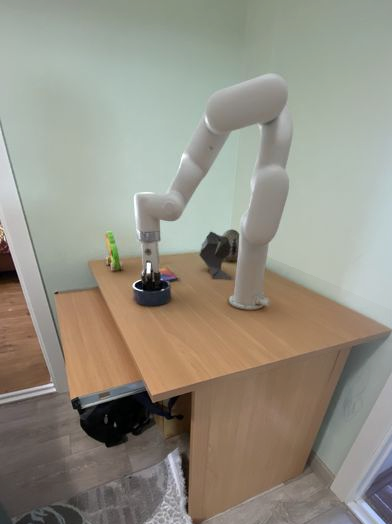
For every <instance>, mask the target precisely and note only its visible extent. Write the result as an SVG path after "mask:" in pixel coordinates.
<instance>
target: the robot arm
mask: <svg viewBox="0 0 392 524" xmlns="http://www.w3.org/2000/svg"><path fill="white" fill-rule="evenodd" d="M288 96H289V89H288V85H287V82H286V81H285V79H284V78H283V77H282V76H281V75H280V74H277V73H274V72H273V73H272V72H269V73H264V74H262V75H259V76H256V77H253V78H250V79H248V80H244V81H242V82H238V83H236V84H233V85H230V86H227V87H224V88H221V89H217V90H216V91H215V92H214V93H212V94H211V95H210V97H209V98H208V99H207V100H206V101H207V102H206V104H205V109H204V112H203V114H202V115H201V117H200V119H199V122H198V124H197V125H196V128H195V129H194V131H193V133H192V135H191V137H190V139H189V141H188V143H187V144H186V146H185V148H184V150H183V152H182V155H181V157H180V158H181V159H180V162H179V167H178V168H177V171H176V173H175V175H174V177H173V179H172V181H171V183H170V185H169V187H168V189H167V191H166V192H165V193H164V194H157V193H155V192H149V191H145V192H144V191H142V192H136V193H135V194H134V196H133V203H134V204H133V205H134V216H135V217H134V218H135V228H136V241H137V242H138V243H140V248H141V260H142V261H141V263H142V271H143V272H144V273H146V291H156V287H155V281H154V273H158V272H159V268H161V267H160V265H161V264H160V249H159V242H161V241H162V240H161V239H162V237H161V221H165V222H175V221H177V220H179V219H180V218H181V216H182V215H183V213H184V211H185V209H186V207H187V206H188V204H189V202H190V201H191V199H192V197H193V195H194V193H195V192H196V191H197V189H198V187H199V186H200V184H201V182H202V181H203V179H205V177H206V176H207V174H208V173H209V171H210V170H211V168H212V167H213V164H214V163H215V161H216V159H217V157H218V155H219V154H220V152H221V151H222V149H223V148H224V145H225V144H226V142H227V140H228V138H229V137H230V135H231V133H232V132H233V131H237V130H241V129H244V128H247V127H250V126H253V125H257V126H258V128H259V135H260V136H259V143H258V149H257V155H256V159H255V164H254V167H253V172H252V176H251V179H250V183H249V187H250V188H249V189H250V192H251V193H250V194H251V195H250V199H249V204H248V208H247V209H246V210H245V211H244V212H243V214H242V215H241V218H240V221H239V231H238V233H239V249H238V258H237V259H236V260H237V261H236V271H235V278H234V279H235V280H234V291H233V294H232V295H231V296H229V299H228V303H229V304H230V305H231V306H233V307H235V308H236V309H239V310H240V309H241V310H247V311H248V310H249V311H252V310H253V311H255V310H259V309H261V308H263V307H266V308H268V307H269V306H270V303H271V299H270V298H268V297H265V292H264V291H263V286H264V278H265V272H266V267H267V259H268V254H269V243H270V242H272V241H273V239H274V238H275V237H276V234H277V232H278V230H279V227H280V224H281V220H282V217H283V213H284V209H285V206H286V202H287V199H288V195H289V192H290V191H289V190H290V178H289V175H288V173H287V171H286V167H287V165H288V164H287V163H288V160H289V155H290V151H291V146H292V141H293V135H294V134H293V132H294V127H293V119H292V115H291V112H290V109H289V106H288V105H287V101H288V98H289V97H288ZM151 271H153V272H151ZM151 274H152V276H151Z"/></svg>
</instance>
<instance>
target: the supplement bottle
mask: <svg viewBox="0 0 392 524" xmlns="http://www.w3.org/2000/svg"><path fill="white" fill-rule="evenodd" d="M151 272H153V271H151ZM151 276H152V274H151ZM140 278H141V279H140V280H142V289H143V291H146V273H144V272H143V270H142V271H141V272H140ZM154 281H155V287H156V291H159V290H162V285H161V273H160V271H159V272H158V273H154Z"/></svg>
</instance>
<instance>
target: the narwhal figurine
mask: <svg viewBox="0 0 392 524" xmlns="http://www.w3.org/2000/svg"><path fill="white" fill-rule="evenodd" d="M230 250H231V244H230V242H229V239H228V238H227V237H226V236H222V235H220V234H217V233H216V232H214V231H209V233H208V235H206V238H205V240H204V241H203V242H202V244H201V247H200V251H199V257H200V258H201V260H202V261H203V262H204V263H205V265H206V266H207V273H210V274H211V276H212V279H213V280H233V277H232V276H230V275H229V274H227V273H226V272H225V271H223V270H222V264H223V261H224V258H225V257H227V256H228V255H229V253H230V252H231V251H230Z"/></svg>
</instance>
